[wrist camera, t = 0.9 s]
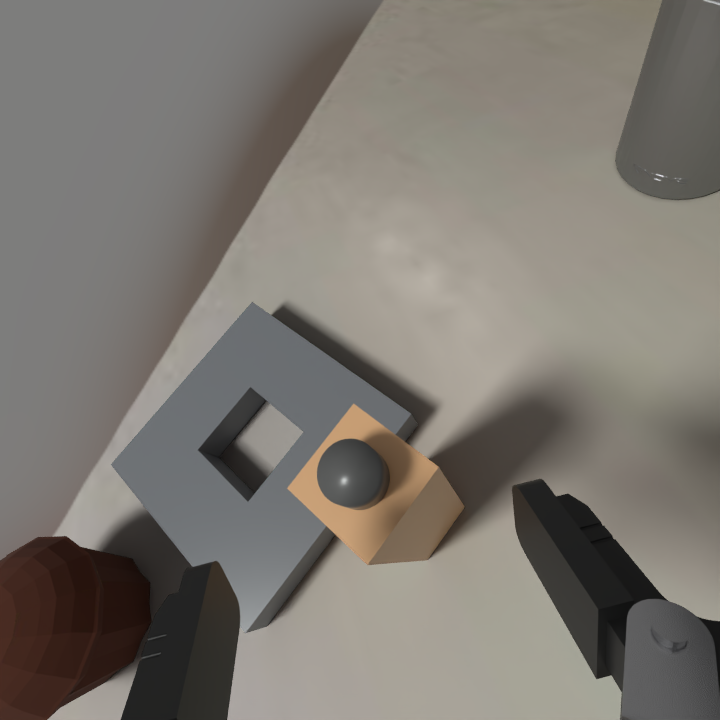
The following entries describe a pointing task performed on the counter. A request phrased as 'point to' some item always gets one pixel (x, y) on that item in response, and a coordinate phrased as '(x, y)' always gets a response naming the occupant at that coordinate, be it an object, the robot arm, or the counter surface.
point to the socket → (220, 484)
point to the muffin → (65, 623)
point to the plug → (377, 492)
